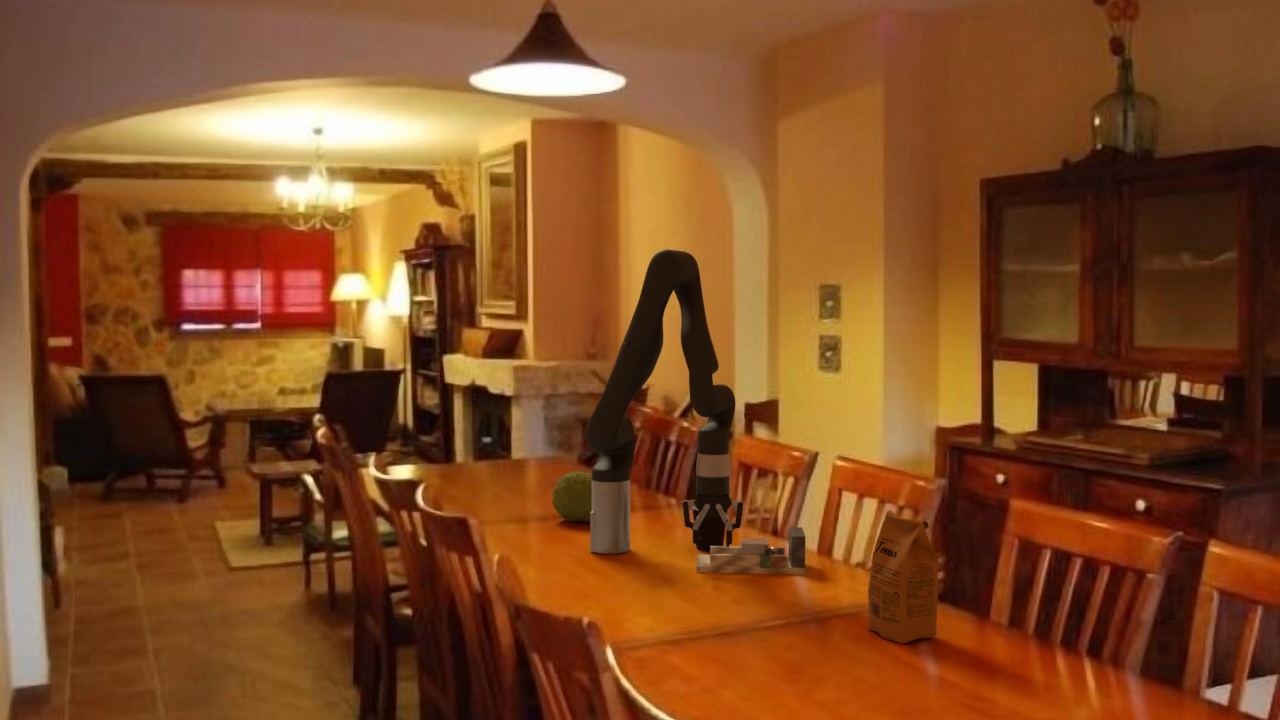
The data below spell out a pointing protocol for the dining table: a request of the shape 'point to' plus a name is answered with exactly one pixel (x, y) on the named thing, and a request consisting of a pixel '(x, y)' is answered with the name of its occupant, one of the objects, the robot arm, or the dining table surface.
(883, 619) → the coffee package
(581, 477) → the fruit
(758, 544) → the plunger
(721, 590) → the dining table surface
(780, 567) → the gauge bed
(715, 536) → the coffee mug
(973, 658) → the dining table surface
